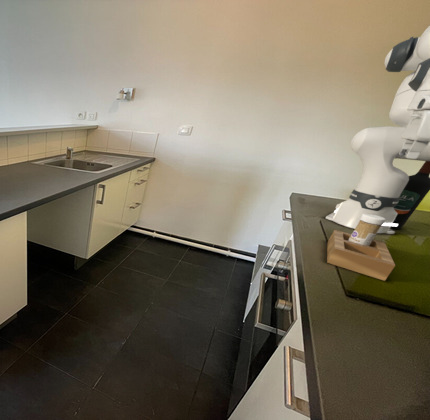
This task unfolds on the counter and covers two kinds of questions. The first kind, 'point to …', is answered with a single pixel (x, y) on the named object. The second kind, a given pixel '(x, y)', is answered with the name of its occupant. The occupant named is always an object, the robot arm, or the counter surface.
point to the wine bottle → (412, 195)
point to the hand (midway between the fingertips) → (406, 156)
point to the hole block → (359, 256)
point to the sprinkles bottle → (366, 229)
